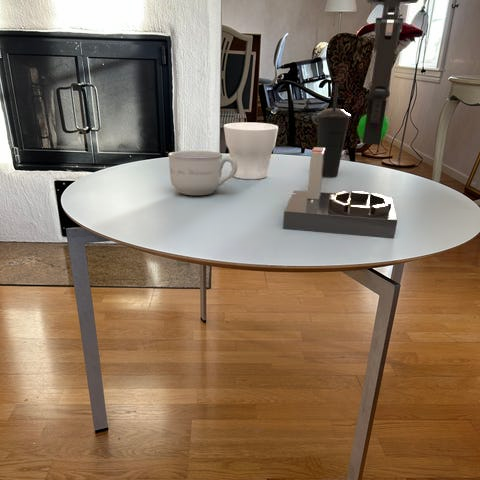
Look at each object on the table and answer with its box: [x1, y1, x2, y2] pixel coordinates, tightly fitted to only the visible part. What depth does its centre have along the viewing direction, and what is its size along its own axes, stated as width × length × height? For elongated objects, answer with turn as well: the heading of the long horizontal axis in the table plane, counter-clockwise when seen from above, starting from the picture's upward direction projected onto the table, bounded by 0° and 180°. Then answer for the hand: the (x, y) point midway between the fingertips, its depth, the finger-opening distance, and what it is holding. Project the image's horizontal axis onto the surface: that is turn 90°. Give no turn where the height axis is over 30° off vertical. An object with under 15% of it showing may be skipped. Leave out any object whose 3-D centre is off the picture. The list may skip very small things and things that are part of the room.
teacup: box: [167, 150, 237, 196], centre depth 97 cm, size 14×11×8 cm
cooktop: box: [282, 190, 398, 239], centre depth 85 cm, size 19×16×3 cm
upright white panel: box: [307, 146, 325, 199], centre depth 85 cm, size 5×2×8 cm, turn 167°
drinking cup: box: [316, 82, 352, 178], centre depth 111 cm, size 8×8×20 cm
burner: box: [329, 190, 391, 217], centre depth 81 cm, size 10×10×2 cm
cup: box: [223, 121, 279, 180], centre depth 111 cm, size 12×12×11 cm
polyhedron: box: [356, 114, 390, 141], centre depth 79 cm, size 5×5×5 cm
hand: (371, 140), depth 80 cm, fingers closed on polyhedron, 5 cm apart
